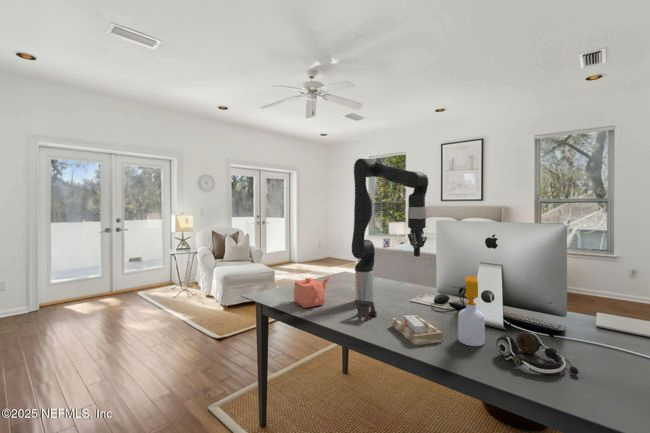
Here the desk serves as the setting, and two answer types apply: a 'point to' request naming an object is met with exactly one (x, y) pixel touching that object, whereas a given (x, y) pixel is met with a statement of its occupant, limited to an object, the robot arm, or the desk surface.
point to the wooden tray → (419, 339)
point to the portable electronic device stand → (365, 309)
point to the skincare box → (414, 324)
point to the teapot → (309, 292)
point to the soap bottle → (471, 317)
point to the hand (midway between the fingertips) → (416, 256)
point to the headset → (530, 346)
